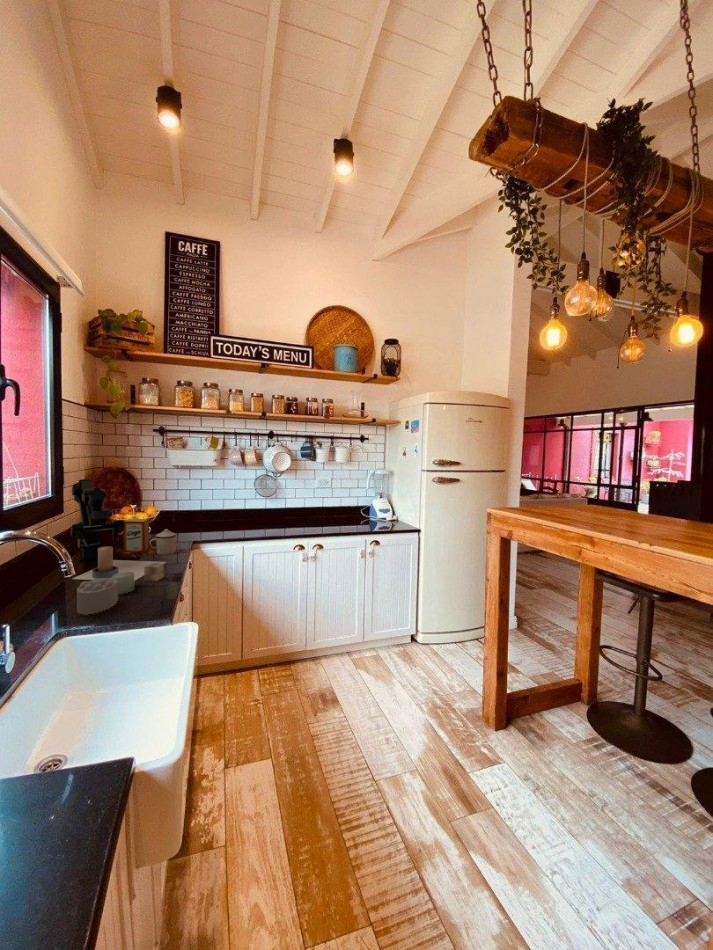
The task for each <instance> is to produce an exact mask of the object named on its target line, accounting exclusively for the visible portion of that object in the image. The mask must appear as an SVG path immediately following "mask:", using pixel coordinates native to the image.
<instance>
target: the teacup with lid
mask: <svg viewBox="0 0 713 950" xmlns="http://www.w3.org/2000/svg"><path fill="white" fill-rule="evenodd" d="M155 535H156V536H155V537H156V538H152V539H151V540H150V539H149V547H150V548H152V549H155V550H156V553H157V554H158V555H171V554H174V553H176V549H177V548H176V544H177V543H176V542H177V540H176V538H177V534H176V533H175V532H172V531H170V530H169V529H168V528H165V529H164V530H163V531H161V532H160V533H157V534H155ZM153 541H156V546H153V545H152V542H153Z"/></svg>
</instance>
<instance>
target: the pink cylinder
mask: <svg viewBox="0 0 713 950" xmlns="http://www.w3.org/2000/svg"><path fill="white" fill-rule="evenodd" d="M113 555H114V547H113V546H109V545H108V546H99V547H98V559H97V567H98V572H106V571H111V570H113V560H114V556H113Z"/></svg>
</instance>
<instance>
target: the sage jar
mask: <svg viewBox="0 0 713 950" xmlns="http://www.w3.org/2000/svg"><path fill="white" fill-rule="evenodd" d="M112 580H117V581H118V595H124V594H123V593H126V594H129V593H128V592H130V593H132V592H134V591H135V590H136V589H135V587H136V585H135V581H134V573H133V572H121V573H117V574H114V575H113V576H112ZM134 589H135V590H134ZM133 590H134V591H133ZM131 591H132V592H131Z"/></svg>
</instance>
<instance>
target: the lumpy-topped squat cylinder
mask: <svg viewBox="0 0 713 950" xmlns="http://www.w3.org/2000/svg"><path fill="white" fill-rule="evenodd" d="M117 601H118V602H119V594H118V581H117V580H112V579H111V578H95V579H93V580H85V581H84V580H83V581H82V583H79V586H78V587H77V588H76V611H77V613H78V615H81V614H83V615H82V616H89V615H88V614H93V615H95V614H94V613H97V612H101V611H103V610H106V609H109V608H111V607H112V606H114V605H115V604H116V603H118V602H117ZM116 605H117V604H116ZM116 605H115V606H116ZM115 606H114V607H115ZM112 608H113V607H112ZM112 608H111V609H112ZM109 610H110V609H109ZM101 613H102V612H101ZM97 614H98V613H97Z"/></svg>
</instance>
